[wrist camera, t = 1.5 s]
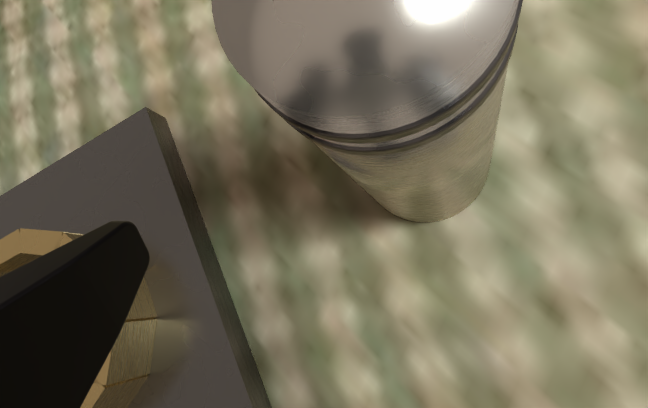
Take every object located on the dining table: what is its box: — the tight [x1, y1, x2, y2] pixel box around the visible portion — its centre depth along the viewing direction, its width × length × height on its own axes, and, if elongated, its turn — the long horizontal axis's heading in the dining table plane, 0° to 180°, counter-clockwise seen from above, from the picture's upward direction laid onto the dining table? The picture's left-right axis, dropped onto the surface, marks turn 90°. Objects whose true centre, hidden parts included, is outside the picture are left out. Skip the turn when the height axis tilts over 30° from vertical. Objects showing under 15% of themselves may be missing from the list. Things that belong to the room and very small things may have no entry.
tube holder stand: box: [0, 107, 271, 408], centre depth 20 cm, size 16×14×4 cm
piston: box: [212, 0, 523, 222], centre depth 13 cm, size 5×5×12 cm
